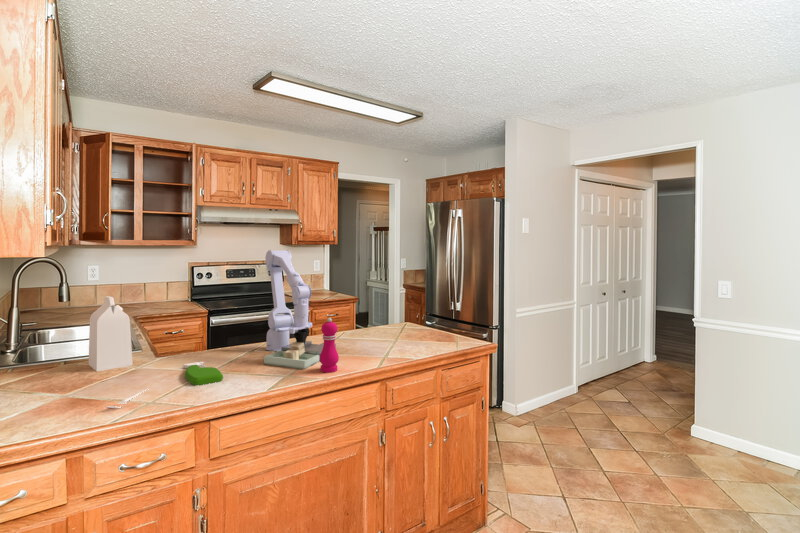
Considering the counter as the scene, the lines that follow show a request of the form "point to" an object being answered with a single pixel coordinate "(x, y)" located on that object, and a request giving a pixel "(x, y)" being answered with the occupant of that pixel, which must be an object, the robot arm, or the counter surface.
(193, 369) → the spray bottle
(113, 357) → the milk
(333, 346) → the pepper mill
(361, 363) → the counter surface
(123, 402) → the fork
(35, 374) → the counter surface
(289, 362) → the tray
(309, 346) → the slotted plate
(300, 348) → the birch block rear
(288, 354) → the birch block front
